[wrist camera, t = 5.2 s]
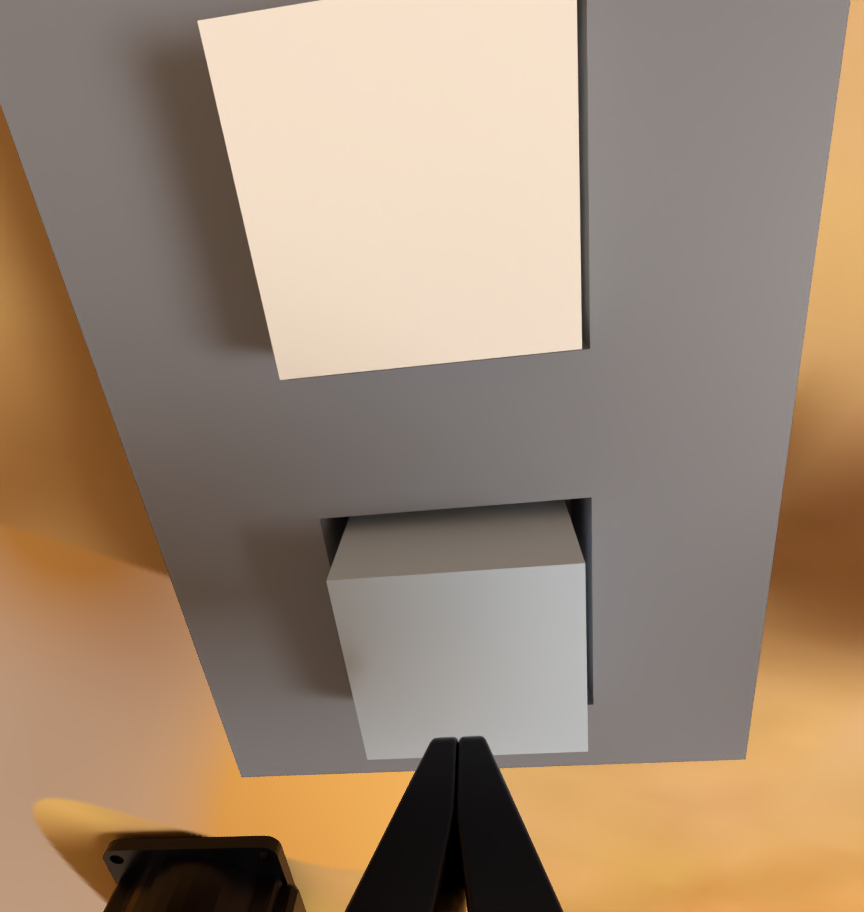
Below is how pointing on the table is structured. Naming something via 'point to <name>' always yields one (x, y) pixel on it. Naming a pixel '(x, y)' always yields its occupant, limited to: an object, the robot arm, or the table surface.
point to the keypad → (457, 383)
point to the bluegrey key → (464, 628)
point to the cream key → (406, 177)
